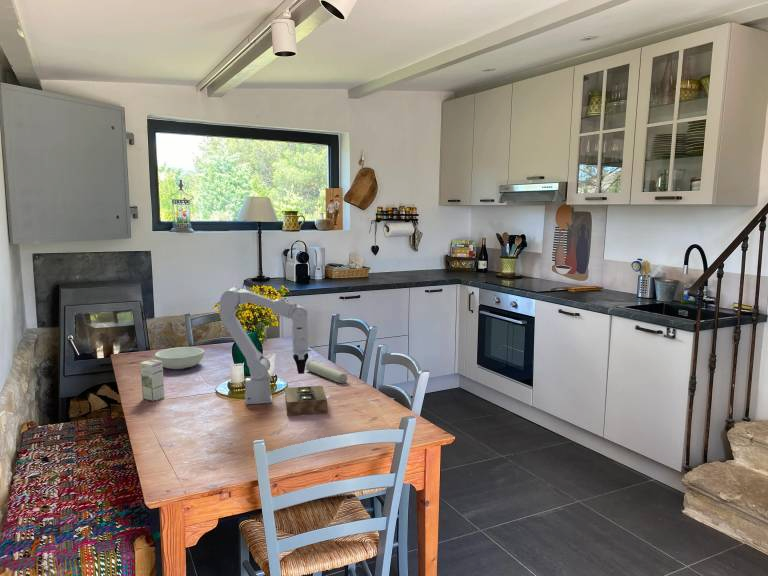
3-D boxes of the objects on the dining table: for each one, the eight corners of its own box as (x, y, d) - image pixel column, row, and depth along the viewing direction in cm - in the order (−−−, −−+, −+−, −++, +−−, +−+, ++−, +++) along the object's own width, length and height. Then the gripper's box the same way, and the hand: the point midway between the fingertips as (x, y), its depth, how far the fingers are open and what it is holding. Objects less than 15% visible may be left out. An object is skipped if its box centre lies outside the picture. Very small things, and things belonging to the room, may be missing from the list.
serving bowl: (214, 364, 266) (213, 350, 265) (176, 376, 248) (175, 360, 247) (184, 358, 277) (183, 344, 276) (145, 368, 259) (145, 353, 258)
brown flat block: (287, 415, 203) (286, 401, 202) (285, 400, 218) (285, 387, 217) (327, 413, 205) (326, 398, 205) (322, 398, 221) (322, 384, 220)
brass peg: (299, 405, 213) (299, 392, 213) (299, 401, 217) (298, 388, 216) (310, 404, 214) (310, 391, 213) (309, 400, 218) (309, 388, 217)
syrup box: (165, 397, 221) (163, 360, 219) (153, 402, 216) (151, 364, 214) (154, 395, 224) (152, 358, 222) (141, 399, 219) (139, 362, 216)
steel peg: (301, 412, 206) (300, 399, 205) (300, 409, 209) (300, 395, 209) (312, 412, 206) (312, 398, 206) (311, 408, 210) (311, 395, 209)
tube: (351, 373, 240) (317, 360, 258) (341, 372, 236) (307, 358, 255) (348, 386, 239) (314, 372, 258) (338, 384, 236) (304, 370, 255)
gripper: (312, 342, 209) (312, 378, 211) (310, 333, 223) (310, 367, 225) (292, 342, 208) (293, 379, 210) (291, 333, 222) (292, 368, 224)
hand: (301, 373), depth 218 cm, fingers closed
